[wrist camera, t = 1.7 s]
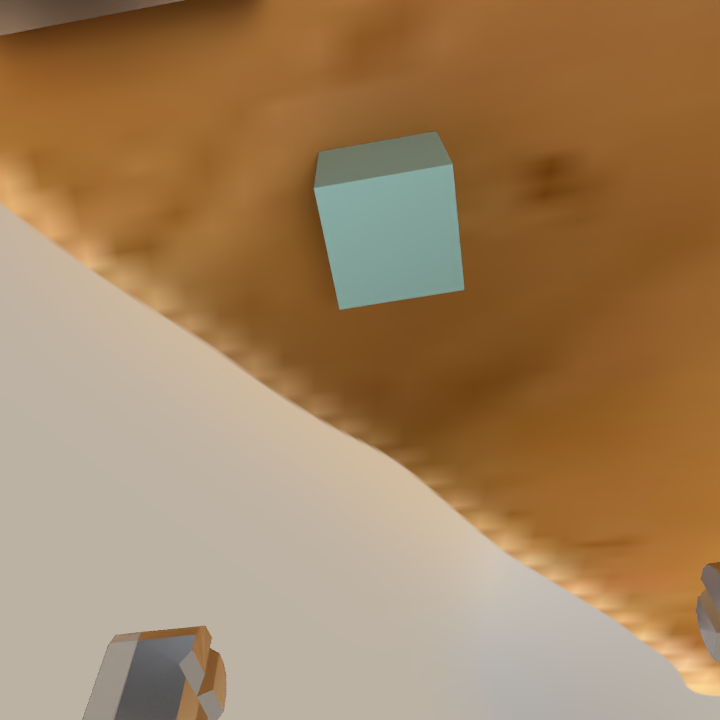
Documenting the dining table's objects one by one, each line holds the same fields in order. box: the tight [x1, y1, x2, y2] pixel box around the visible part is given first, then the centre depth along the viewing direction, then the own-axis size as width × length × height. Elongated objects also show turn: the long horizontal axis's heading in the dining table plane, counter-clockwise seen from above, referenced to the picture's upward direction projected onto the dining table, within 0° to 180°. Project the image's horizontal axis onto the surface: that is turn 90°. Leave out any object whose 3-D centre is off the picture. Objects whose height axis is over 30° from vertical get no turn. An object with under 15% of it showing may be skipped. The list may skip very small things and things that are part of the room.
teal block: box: [314, 131, 464, 310], centre depth 27 cm, size 5×5×5 cm
